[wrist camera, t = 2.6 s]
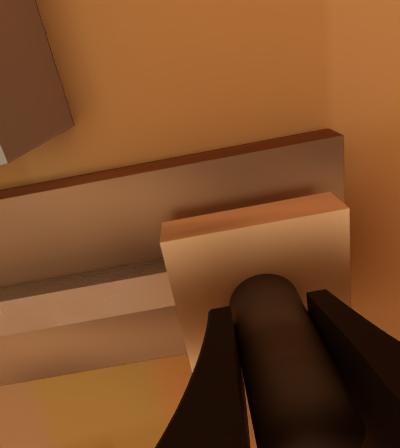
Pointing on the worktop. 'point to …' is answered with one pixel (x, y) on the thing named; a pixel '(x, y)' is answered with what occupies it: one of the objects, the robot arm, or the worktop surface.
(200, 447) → the robot arm
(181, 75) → the worktop surface
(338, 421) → the carriage
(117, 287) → the guide rail
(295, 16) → the worktop surface
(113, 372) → the worktop surface
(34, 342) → the board
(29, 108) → the gauge box
